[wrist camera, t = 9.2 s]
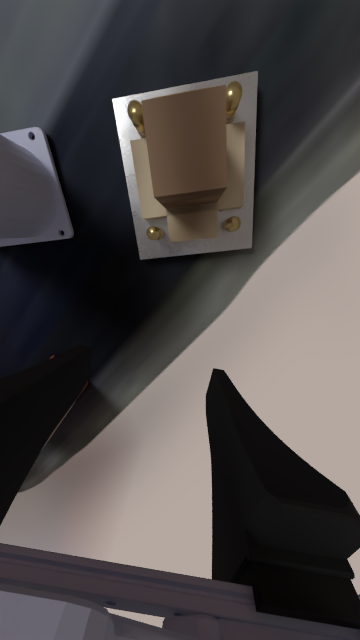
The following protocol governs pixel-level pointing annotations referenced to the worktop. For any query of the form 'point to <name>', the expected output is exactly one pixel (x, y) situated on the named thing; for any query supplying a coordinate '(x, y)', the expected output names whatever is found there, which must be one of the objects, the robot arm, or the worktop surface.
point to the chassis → (231, 222)
